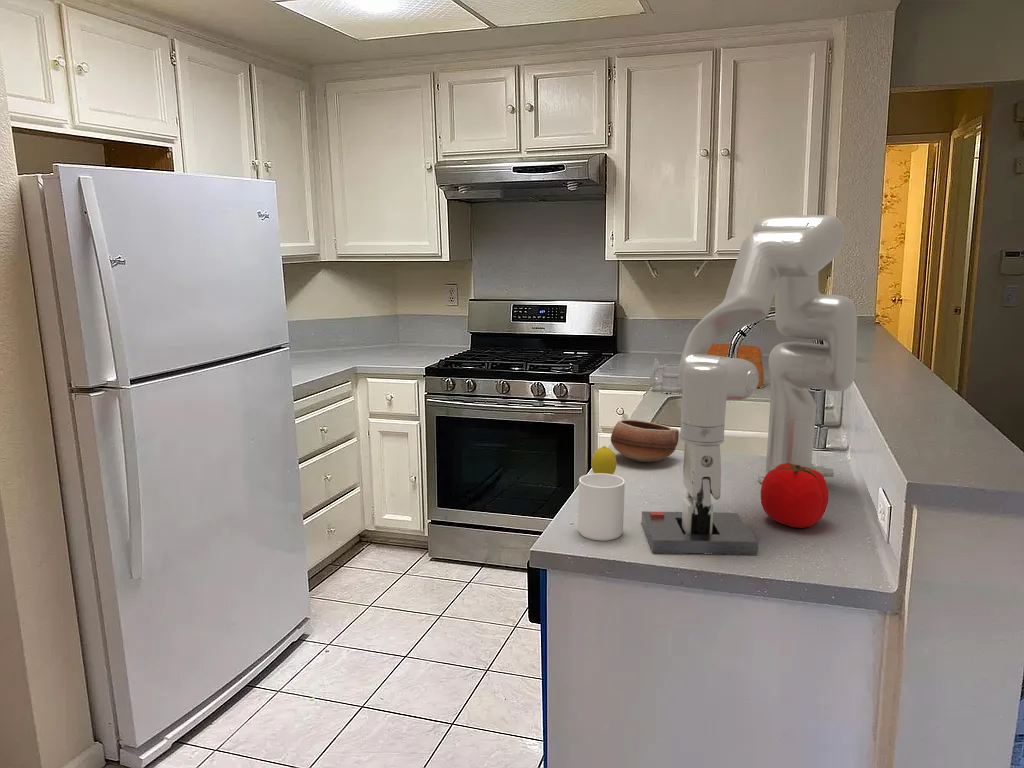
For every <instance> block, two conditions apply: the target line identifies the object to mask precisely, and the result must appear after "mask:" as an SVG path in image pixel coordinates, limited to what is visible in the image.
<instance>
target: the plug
mask: <svg viewBox="0 0 1024 768" xmlns="http://www.w3.org/2000/svg"><path fill="white" fill-rule="evenodd" d="M697 496H698V497H702V494H697ZM699 504H702V501H698V505H699ZM681 510H682V511H681V512H682V528H683V530H684V532H685V533H686V534H691V520H692V514H694V498H687V497H682V509H681ZM713 513H714V505H713V504H712V502H711V518H710V534H712V525H713Z"/></svg>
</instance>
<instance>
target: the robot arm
mask: <svg viewBox="0 0 1024 768" xmlns="http://www.w3.org/2000/svg"><path fill="white" fill-rule="evenodd" d="M844 241H845V228H844V224H843V222H842V221H841V219H839V218H838V217H837V216H834V215H829V214H827V215H826V214H810V215H809V214H807V215H806V214H805V215H803V214H802V215H800V214H799V215H797V214H795V215H793V214H791V215H785V214H784V215H771V216H765V217H763V218H760V219H758V220H756V222H755V223H754V225H753V228H752V233H750V234H749V235H747V236H746V237H745V239H744V240H743V242H742V244H741V246H740V248H739V253H738V256H737V258H736V261H735V264H734V268H733V270H732V275H731V276H730V277H731V278H730V280H729V284H728V286H727V289H726V292H725V296H724V299H723V301H722V302H721V303H720V304H719V305H717V306H716V307H714V308H713V309H712V310H711V311H710V312H708V313H707V314H706V315H704V317H703V318H702V319H700V321H699V322H698V323H697V324H696V325H695V326H694V327H693V328H692V330H691V332H690V333H689V335H688V337H687V339H686V341H685V345H684V348H683V350H682V353H681V357H680V361H679V369H678V381H679V384H680V386H681V387H682V393H681V410H680V411H681V412H680V413H681V414H680V431H679V433H680V434H679V435H680V436H679V439H680V440H679V441H681V442H684V452H683V466H682V467H683V468H682V470H683V471H682V472H683V473H682V478H683V479H682V480H683V484H684V487H685V489H686V491H687V492H686V498H694V514H692V520H691V534H710V518H711V503H712V497H713V499H715V500H719V499H720V498H721V487H722V486H721V484H722V483H721V481H722V479H721V478H722V477H721V476H722V471H721V470H722V469H721V468H722V467H721V466H722V464H721V463H722V462H721V461H722V460H721V459H722V457H721V447H720V446H721V445H722V444H723V443H724V441H725V440H724V439H725V423H726V422H725V421H726V408H727V404H726V403H727V402H728V401H742V400H745V399H748V398H749V397H750V396H752V395H753V394H754V392H755V391H756V390H757V389H758V388H757V386H758V382H759V374H758V370H757V368H756V367H755V365H754V364H753V363H751V362H749V361H747V360H744V359H739V358H730V357H723V356H715V355H706V354H707V352H708V350H709V348H710V347H711V345H712V344H715V342H717V340H718V339H720V338H721V337H723V336H724V335H726V334H727V333H730V332H732V331H735V330H739V329H741V328H743V327H747V326H749V325H751V324H755V323H757V322H760V321H763V320H764V319H765V318H767V316H768V315H769V313H770V312H771V308H772V304H773V301H775V303H774V305H775V307H774V308H775V309H774V310H775V311H774V312H775V313H774V316H775V317H774V318H775V326H776V329H777V331H778V333H779V334H780V335H782V336H784V337H788V338H792V339H793V338H794V339H803V340H813V341H814V340H815V341H825V342H826V343H827V344H820V343H810V342H801V341H787V342H781V343H778V344H776V345H775V346H774V347H773V348H772V349H771V350H770V353H769V356H768V375H769V381H770V382H769V383H770V384H769V385H770V386H769V387H770V401H769V416H768V418H769V419H768V432H767V446H766V447H767V449H766V461H765V470H763V471H760V472H759V473H758V475H757V480H758V482H759V483H760V484H762V482H763V480H764V478H765V476H766V475H767V473H768V472H769V471H770V470H773V469H775V468H776V467H777V466H778V465H780V464H784V463H786V462H787V464H788V463H789V464H795V465H800V466H802V467H807V468H805V469H808V468H810V469H812V470H815V471H818V472H820V473H821V474H822V475H823V476H824V478H833V477H834V475H835V470H834V469H833V468H831V467H829V468H824V466H823V465H822V466H821V465H820V466H819V465H818V466H817V465H815V464H814V463H813V451H814V443H815V442H814V438H815V429H816V428H815V427H816V417H817V415H816V414H817V405H816V402H815V400H814V397H813V396H812V394H811V392H810V391H809V390H808V389H816V390H824V391H829V392H843V391H845V390H848V389H849V388H850V387H851V386H852V385H853V382H854V380H855V377H856V375H855V374H856V370H857V369H856V368H857V367H856V366H857V337H858V333H857V332H858V328H857V327H858V313H857V310H856V308H857V307H856V305H855V304H854V302H853V301H852V300H851V298H849V297H847V296H844V295H839V294H825V293H824V294H822V293H821V292H820V289H819V272H820V271H821V270H823V269H824V268H825V267H826V266H827V265H828V264H830V263H831V262H832V261H833V260H834V259H835V258H836V257H837V256H838V255H839V253H840V251H841V249H842V248H843V246H844ZM774 299H775V300H774ZM773 466H775V467H773ZM697 494H702V497H698V496H697ZM698 501H702V504H699V505H698Z"/></svg>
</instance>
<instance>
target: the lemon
mask: <svg viewBox="0 0 1024 768" xmlns="http://www.w3.org/2000/svg"><path fill="white" fill-rule="evenodd" d="M616 458H617V456H616V455H615V452H614V451H613V450H612V449H611V448H609V447H607V446H606V445H603V446H601V447H599V448H597V449H596V450H595V451H594V453H593V455H592V457H591V469H592V472H593V474H595V473H603V474H612V475H615V474H614V473H615V472H616V469H617V459H616Z"/></svg>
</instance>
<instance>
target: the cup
mask: <svg viewBox="0 0 1024 768" xmlns="http://www.w3.org/2000/svg"><path fill="white" fill-rule="evenodd" d="M625 484H626V483H625V479H624V478H623V477H621V476H619V475H615V474H613V475H612V474H603V473H595V474H594V473H588V474H584V475H582V476H580V477H579V478H578V506H577V507H578V510H577V513H578V515H577V517H578V518H577V519H578V520H577V529H578V532H579V534H580V535H581V536H582V537H583V538H586V539H588V540H589V539H590V540H593V541H603V542H604V541H612V540H616V539H618V538H620V537H621V535H622V534H623V533H624V515H625V514H624V512H625V510H624V509H625V487H626V485H625Z"/></svg>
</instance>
